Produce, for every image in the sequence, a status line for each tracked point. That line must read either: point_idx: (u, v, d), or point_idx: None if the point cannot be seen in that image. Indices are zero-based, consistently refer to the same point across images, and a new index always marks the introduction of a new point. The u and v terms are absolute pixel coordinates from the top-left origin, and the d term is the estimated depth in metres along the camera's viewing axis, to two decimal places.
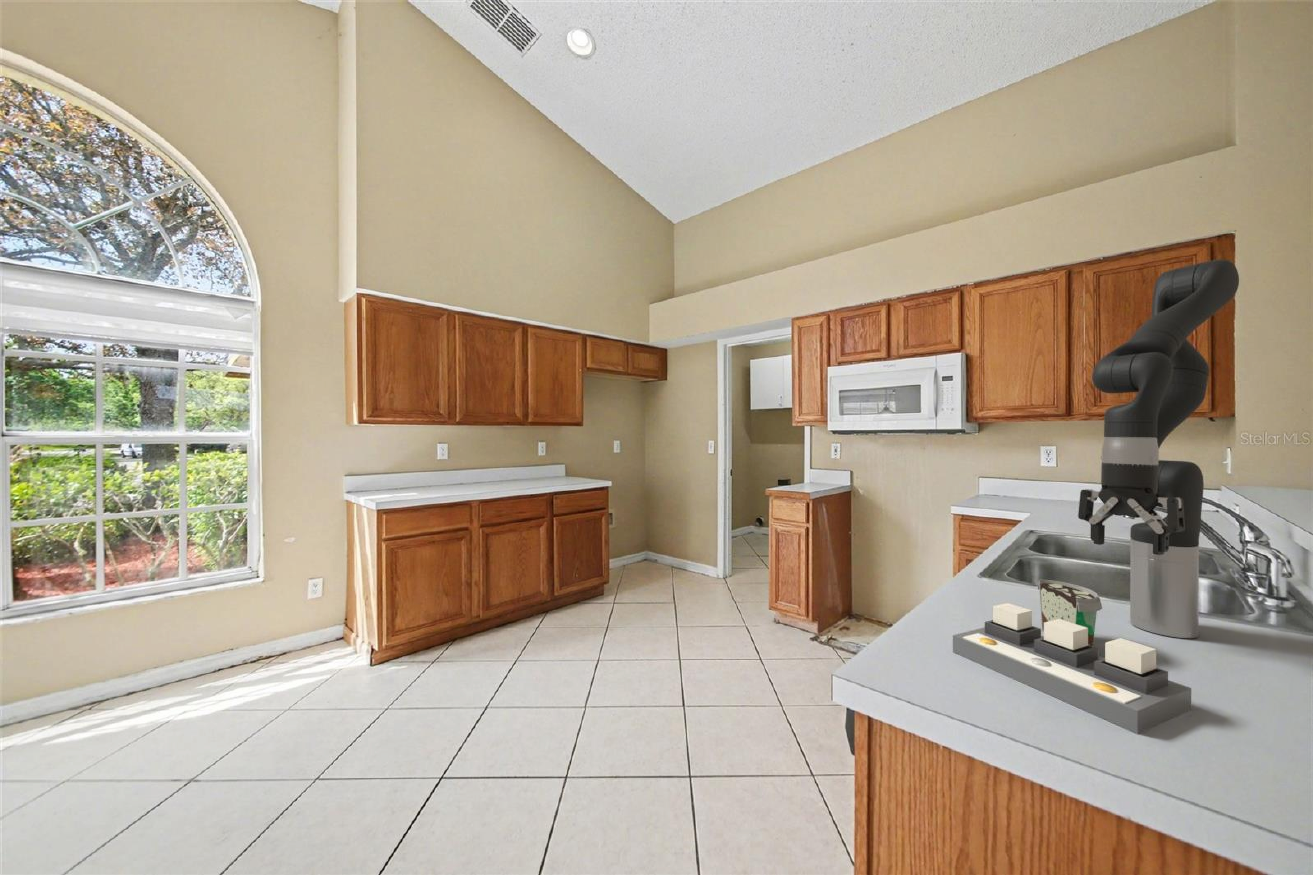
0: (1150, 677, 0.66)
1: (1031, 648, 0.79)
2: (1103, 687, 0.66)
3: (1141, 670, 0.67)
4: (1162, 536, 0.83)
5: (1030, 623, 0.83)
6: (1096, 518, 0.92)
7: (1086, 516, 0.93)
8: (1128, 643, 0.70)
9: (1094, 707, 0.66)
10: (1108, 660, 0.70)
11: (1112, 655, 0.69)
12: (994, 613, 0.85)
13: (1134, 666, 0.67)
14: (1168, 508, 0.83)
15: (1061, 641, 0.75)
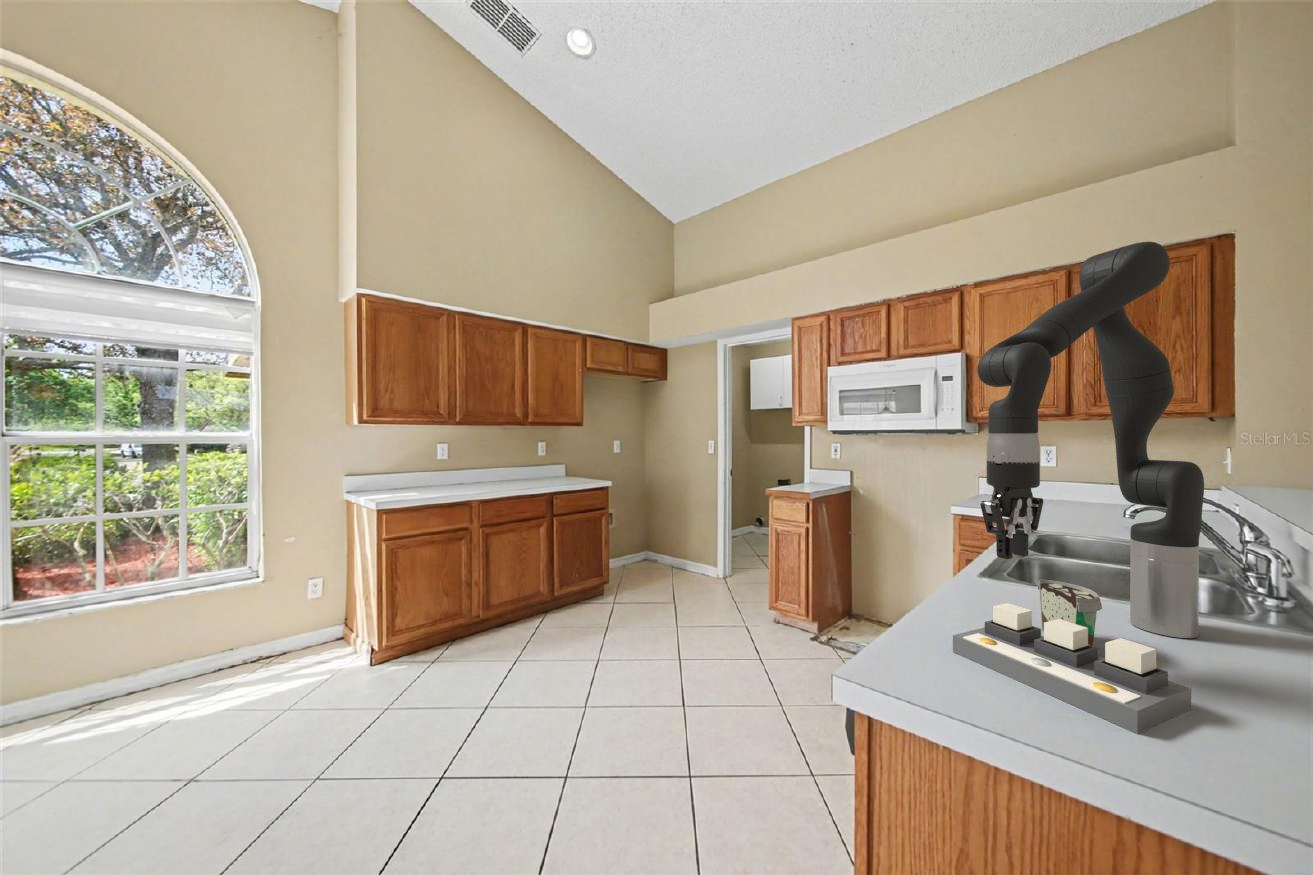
0: (1150, 677, 0.66)
1: (1031, 648, 0.79)
2: (1103, 687, 0.66)
3: (1141, 670, 0.67)
4: None
5: (1030, 623, 0.83)
6: (1010, 529, 0.82)
7: None
8: (1128, 643, 0.70)
9: (1094, 707, 0.66)
10: (1108, 660, 0.70)
11: (1112, 655, 0.69)
12: (994, 613, 0.85)
13: (1134, 666, 0.67)
14: (1038, 508, 0.84)
15: (1061, 641, 0.75)
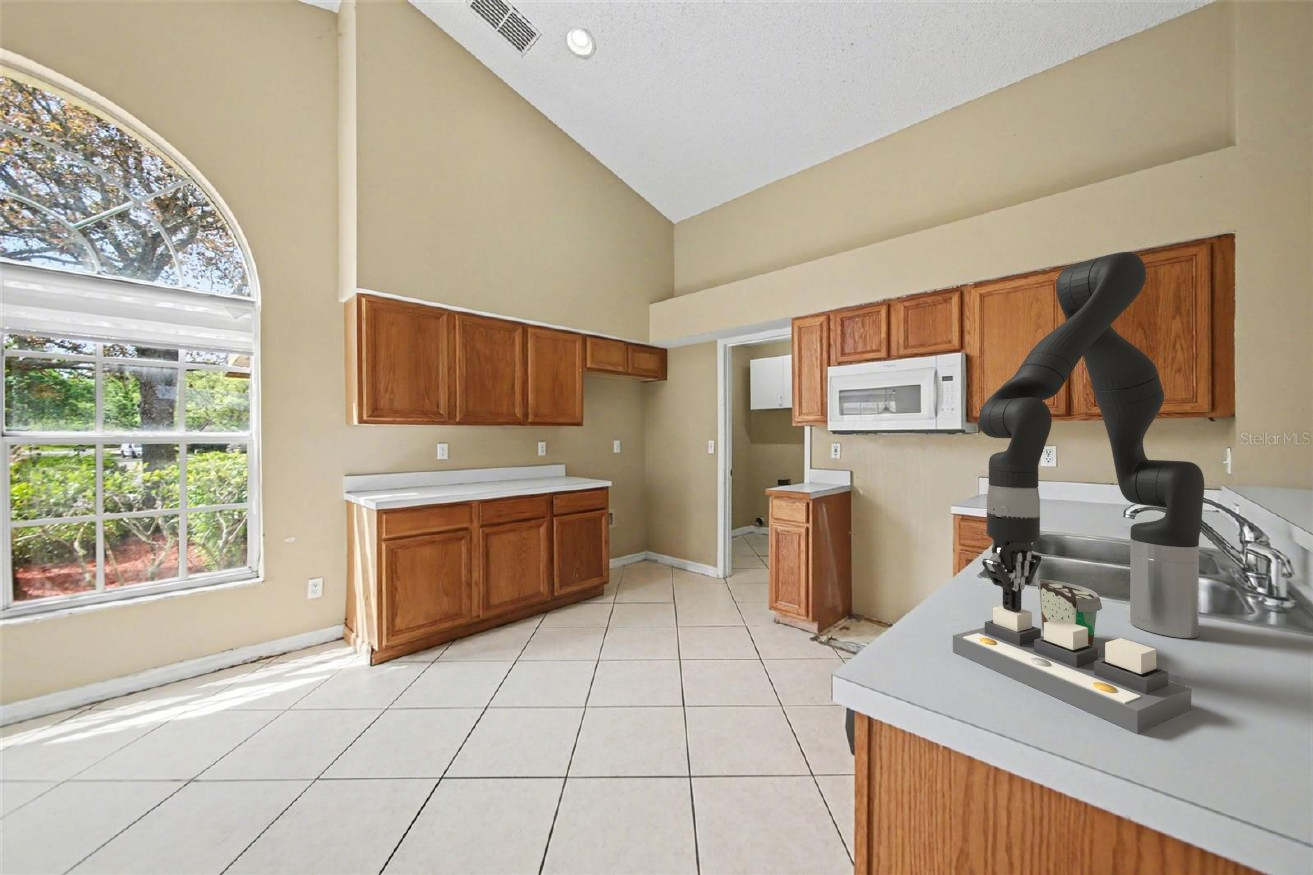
0: (1150, 677, 0.66)
1: (1031, 648, 0.79)
2: (1103, 687, 0.66)
3: (1141, 670, 0.67)
4: None
5: (1030, 624, 0.83)
6: (1016, 582, 0.82)
7: None
8: (1128, 643, 0.70)
9: (1094, 707, 0.66)
10: (1108, 660, 0.70)
11: (1112, 655, 0.69)
12: (994, 614, 0.85)
13: (1134, 666, 0.67)
14: (1035, 564, 0.84)
15: (1061, 641, 0.75)
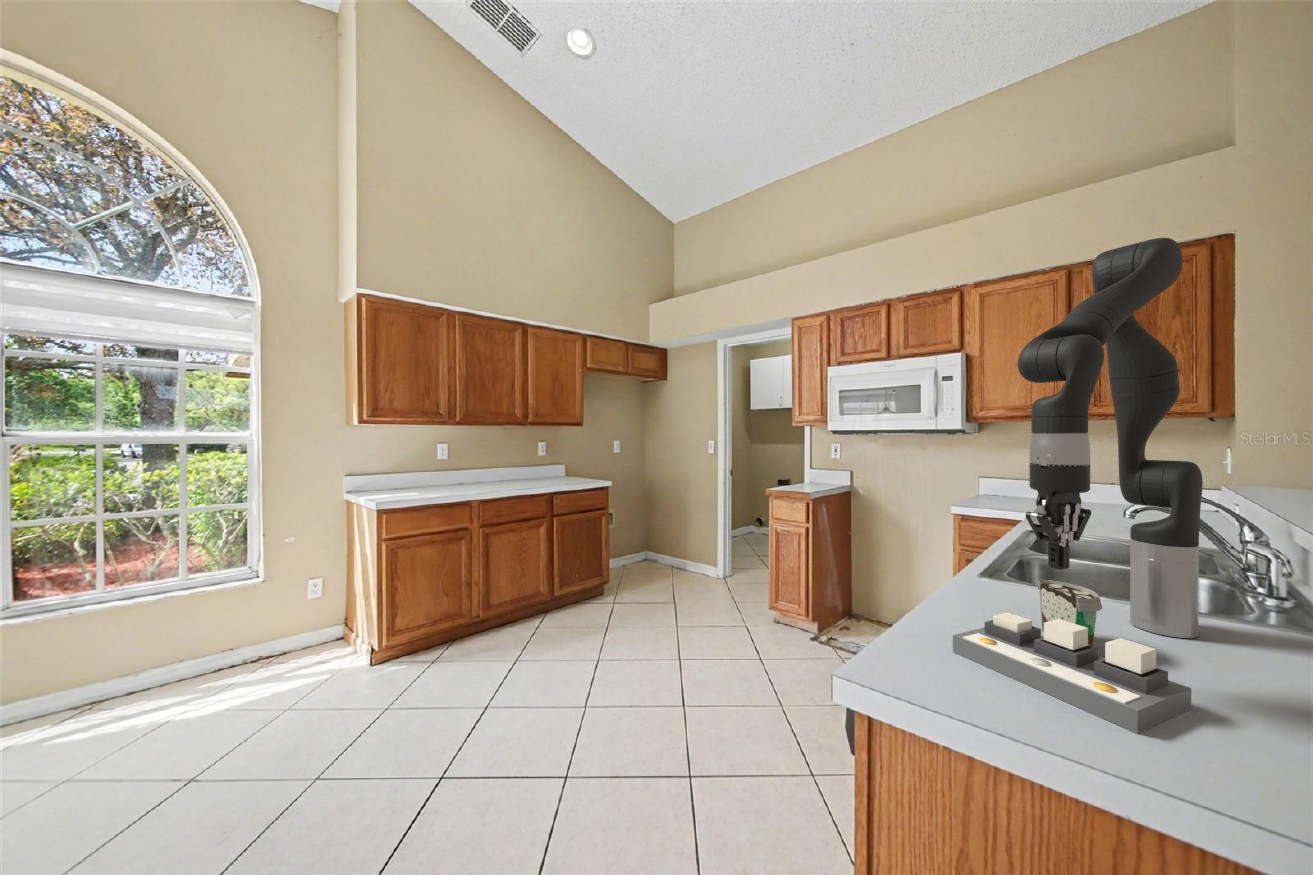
0: (1150, 677, 0.66)
1: (1031, 648, 0.79)
2: (1103, 687, 0.66)
3: (1141, 670, 0.67)
4: None
5: None
6: (1063, 537, 0.76)
7: None
8: (1128, 643, 0.70)
9: (1094, 707, 0.66)
10: (1108, 660, 0.70)
11: (1112, 655, 0.69)
12: (994, 623, 0.85)
13: (1134, 666, 0.67)
14: (1084, 518, 0.77)
15: (1061, 641, 0.75)
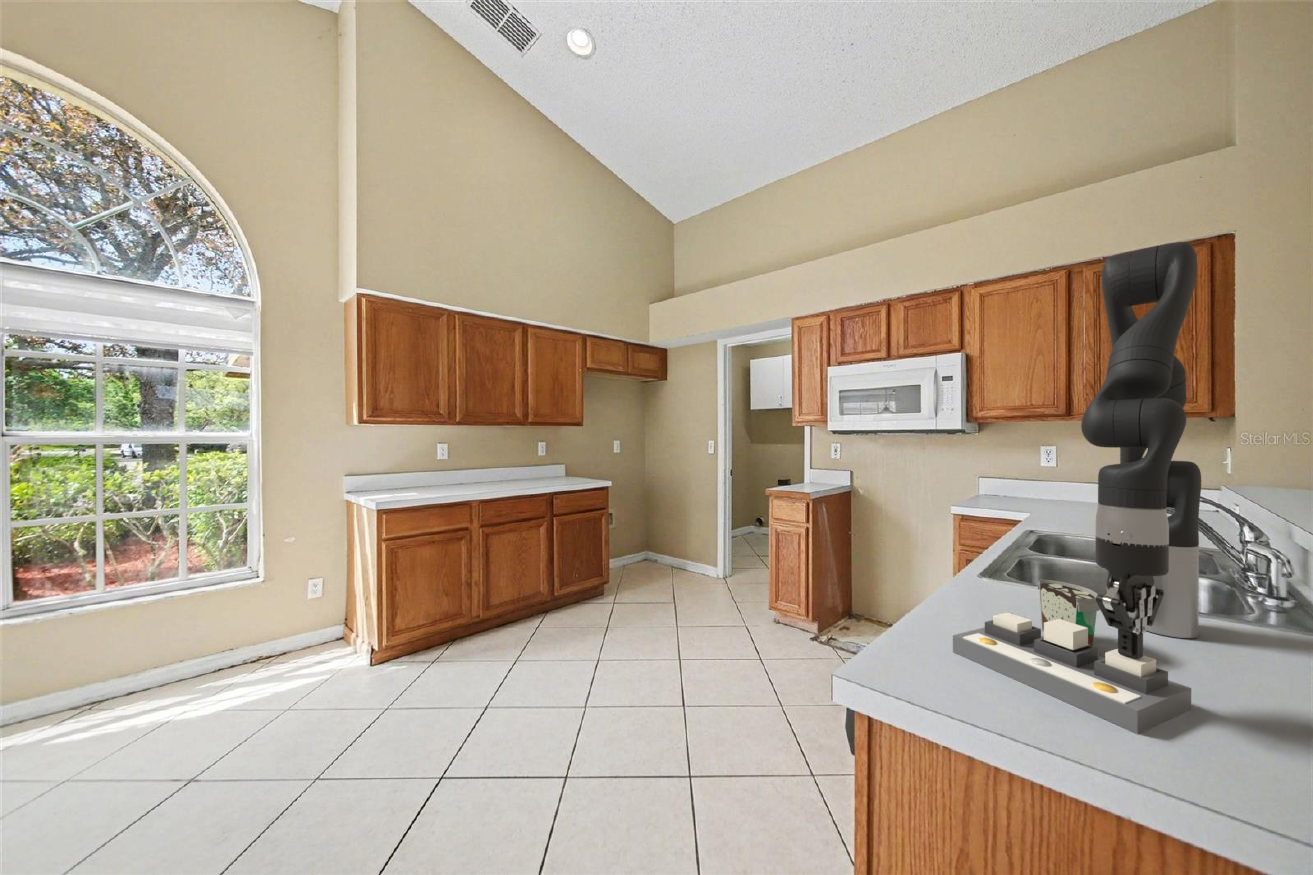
0: (1150, 677, 0.66)
1: (1031, 648, 0.79)
2: (1103, 687, 0.66)
3: None
4: None
5: None
6: (1137, 624, 0.67)
7: None
8: None
9: (1094, 707, 0.66)
10: None
11: (1112, 665, 0.69)
12: (994, 623, 0.85)
13: None
14: (1157, 600, 0.69)
15: (1061, 641, 0.75)
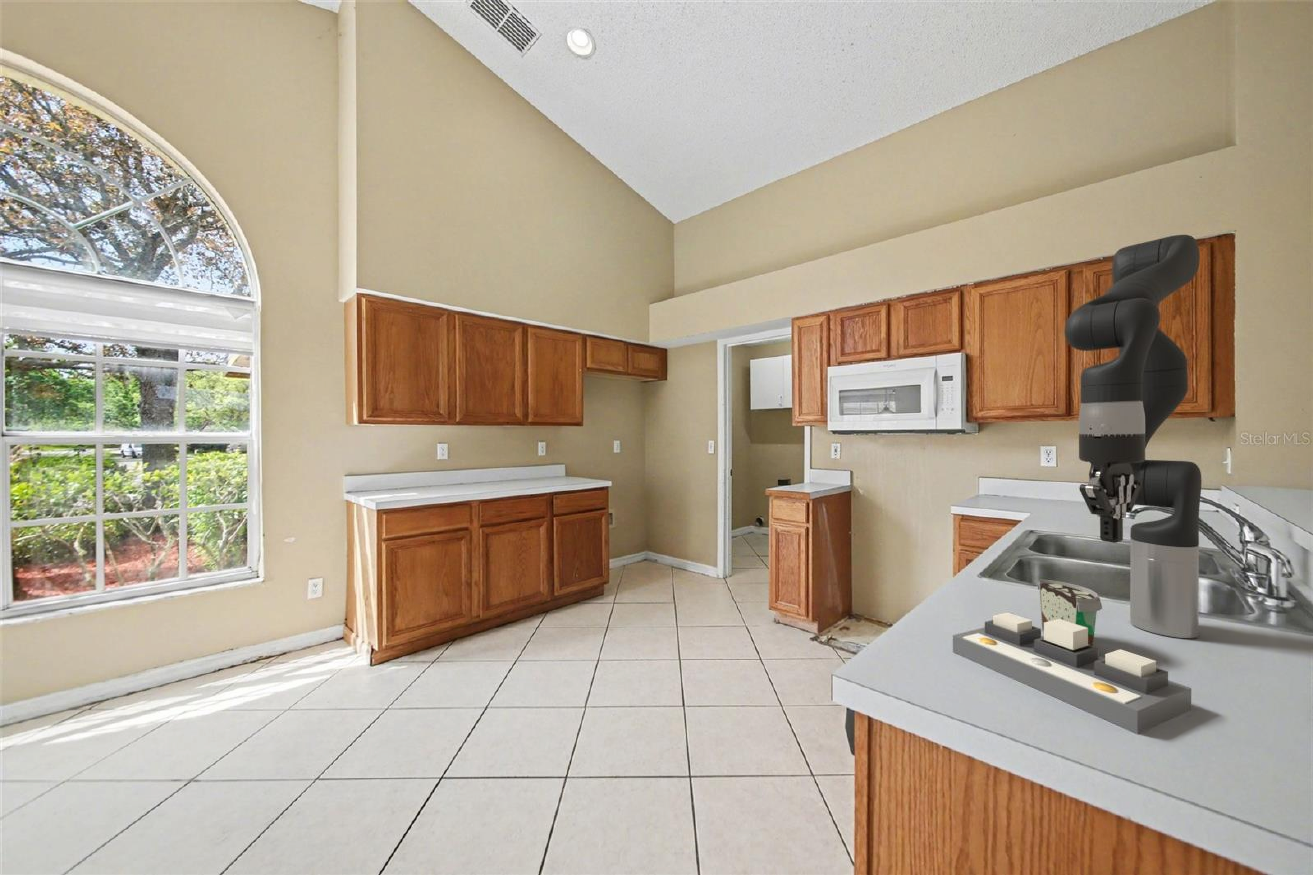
0: (1150, 677, 0.66)
1: (1031, 648, 0.79)
2: (1103, 687, 0.66)
3: None
4: None
5: None
6: (1117, 509, 0.73)
7: None
8: (1128, 654, 0.70)
9: (1094, 707, 0.66)
10: None
11: None
12: (994, 623, 0.85)
13: None
14: (1135, 489, 0.75)
15: (1061, 641, 0.75)
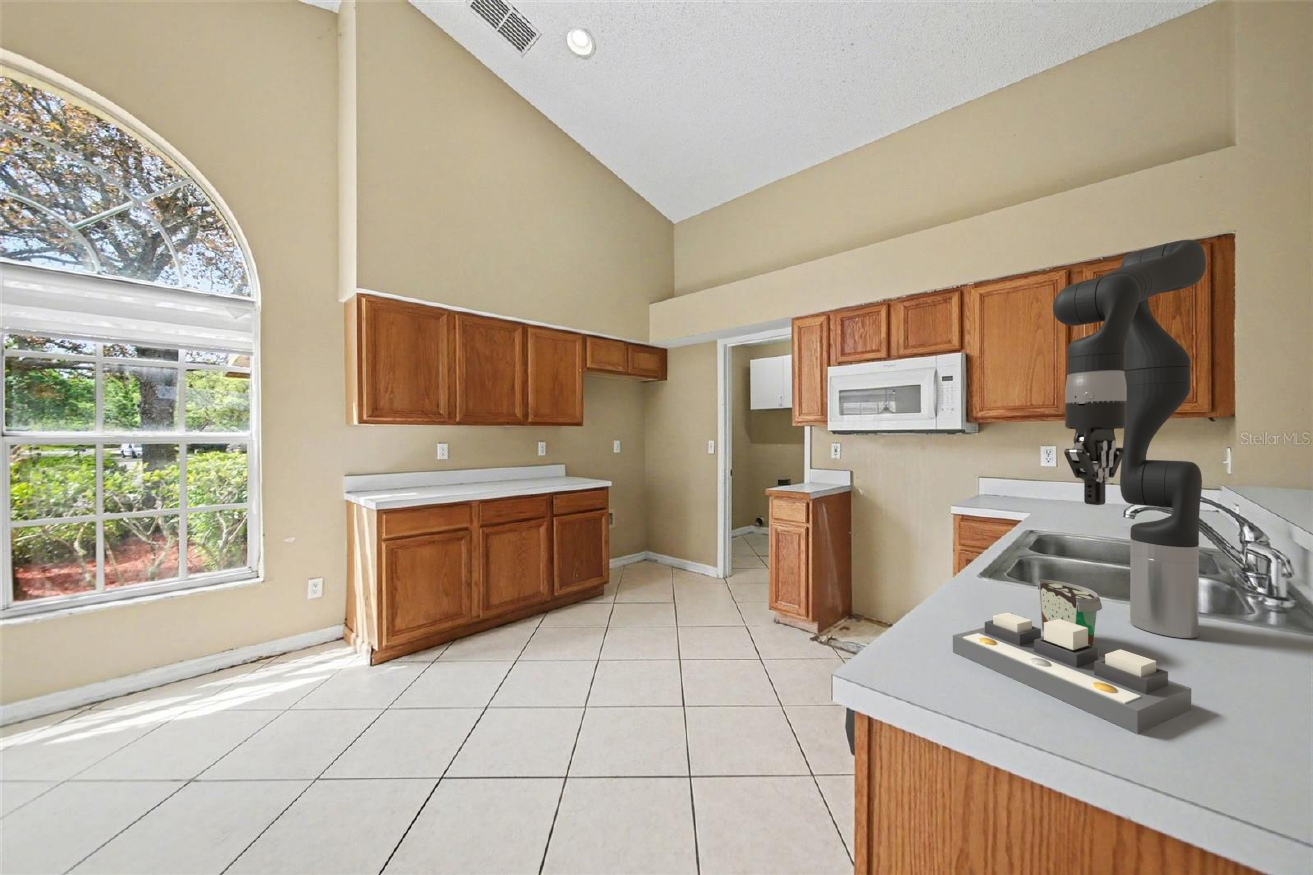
0: (1150, 677, 0.66)
1: (1031, 648, 0.79)
2: (1103, 687, 0.66)
3: None
4: None
5: None
6: (1100, 473, 0.78)
7: None
8: (1128, 654, 0.70)
9: (1094, 707, 0.66)
10: None
11: None
12: (994, 623, 0.85)
13: None
14: (1118, 456, 0.80)
15: (1061, 641, 0.75)
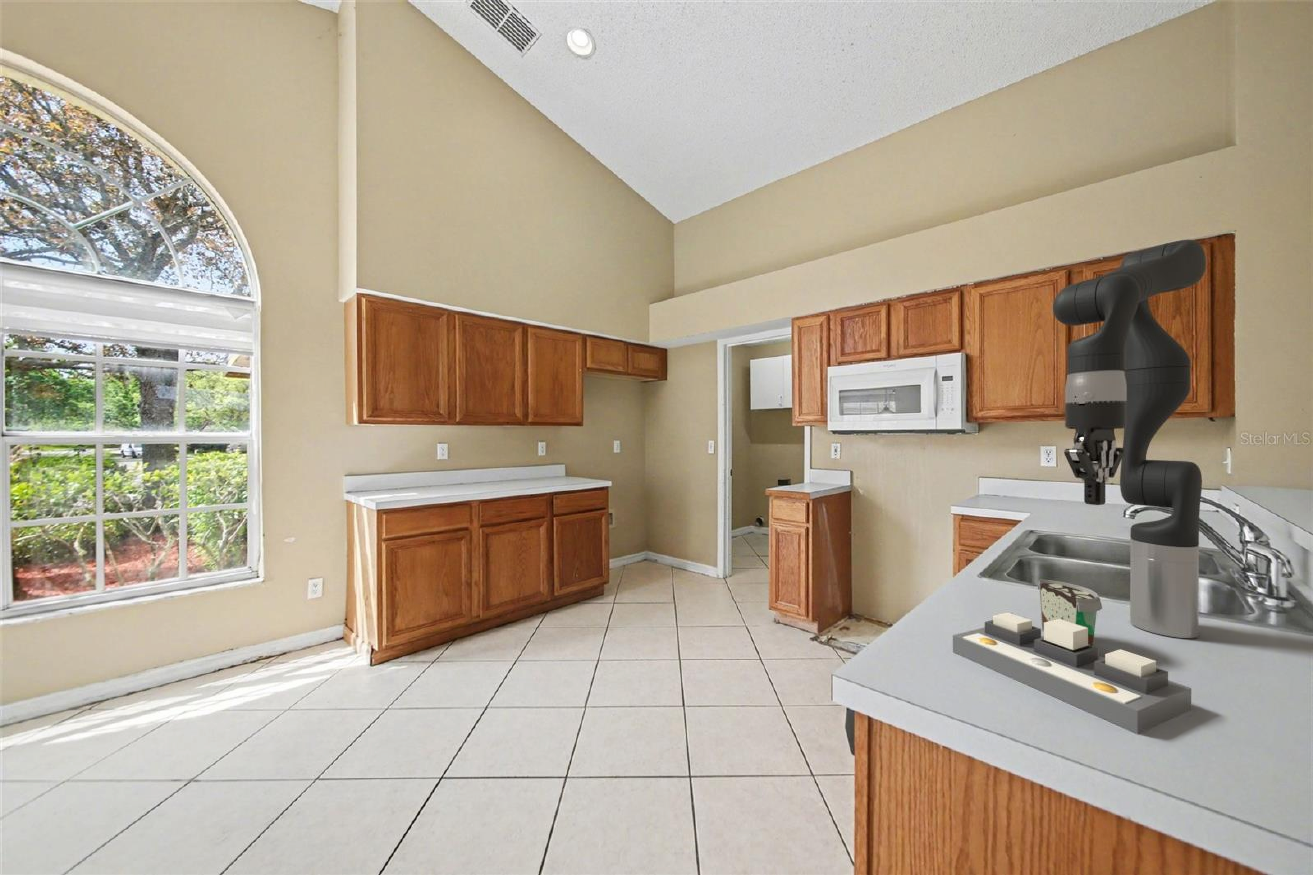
0: (1150, 677, 0.66)
1: (1031, 648, 0.79)
2: (1103, 687, 0.66)
3: None
4: None
5: None
6: (1100, 473, 0.78)
7: None
8: (1128, 654, 0.70)
9: (1094, 707, 0.66)
10: None
11: None
12: (994, 623, 0.85)
13: None
14: (1118, 456, 0.80)
15: (1061, 641, 0.75)
